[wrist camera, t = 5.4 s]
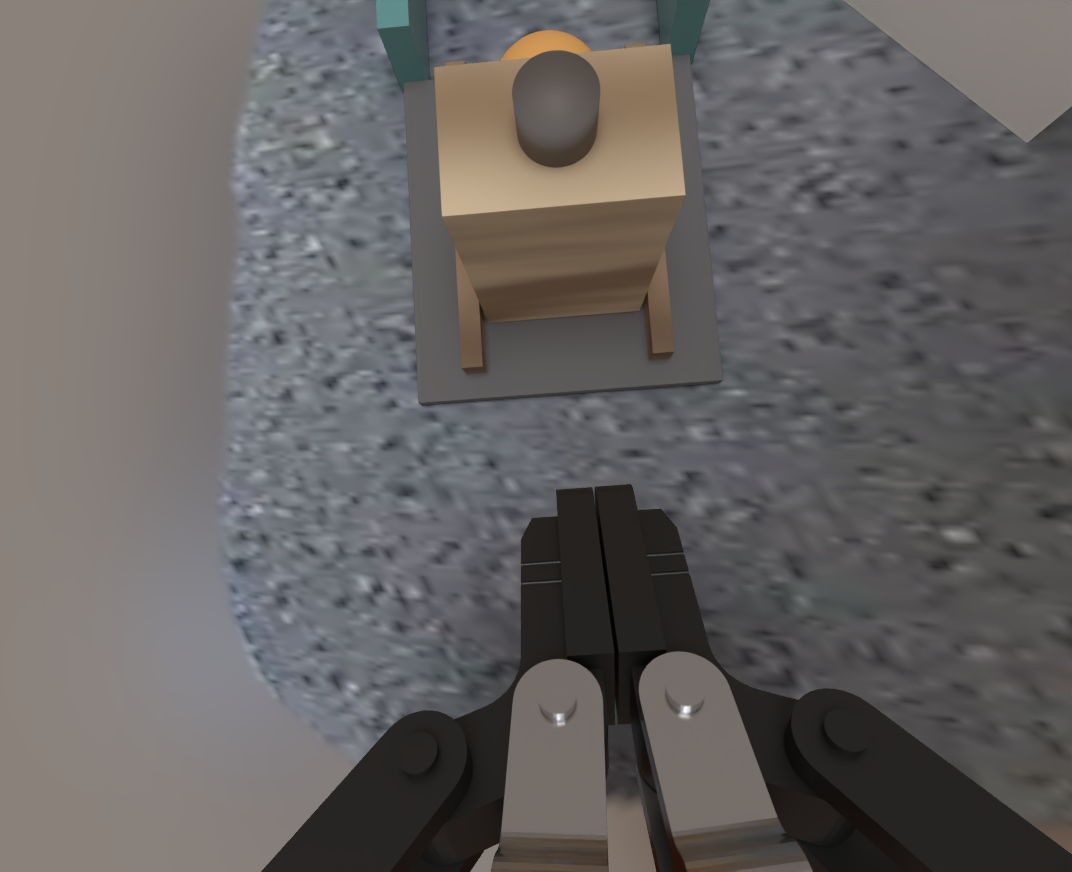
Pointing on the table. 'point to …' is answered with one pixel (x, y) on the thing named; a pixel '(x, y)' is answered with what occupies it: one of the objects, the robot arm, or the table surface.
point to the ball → (544, 44)
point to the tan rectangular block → (560, 178)
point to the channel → (473, 318)
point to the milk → (990, 52)
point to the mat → (565, 342)
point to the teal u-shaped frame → (408, 41)
